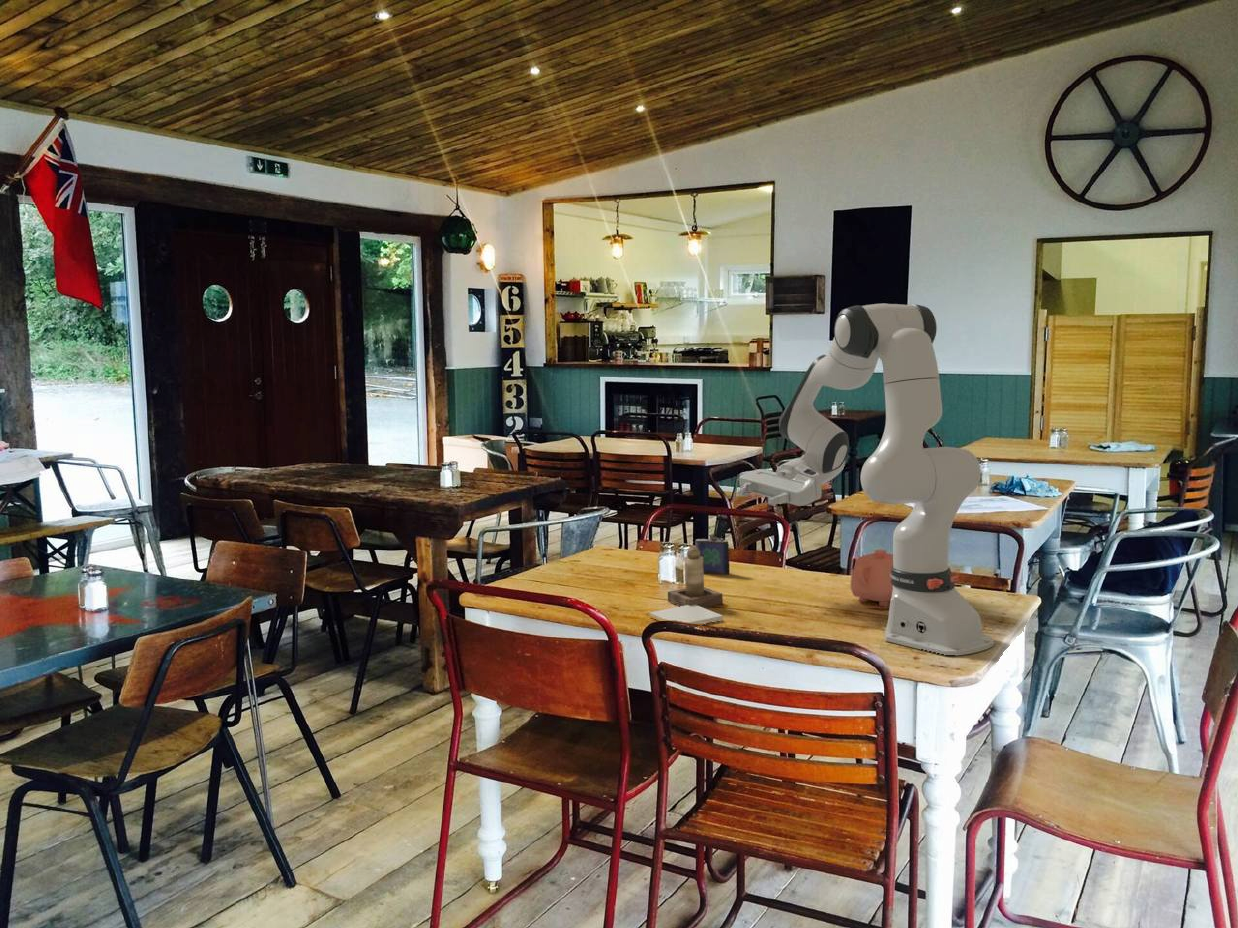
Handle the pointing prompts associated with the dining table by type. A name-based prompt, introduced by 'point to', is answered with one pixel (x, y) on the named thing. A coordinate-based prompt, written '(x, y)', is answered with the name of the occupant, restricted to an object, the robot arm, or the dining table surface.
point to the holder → (695, 598)
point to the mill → (694, 573)
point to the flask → (714, 555)
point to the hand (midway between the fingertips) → (755, 497)
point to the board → (688, 614)
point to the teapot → (873, 578)
